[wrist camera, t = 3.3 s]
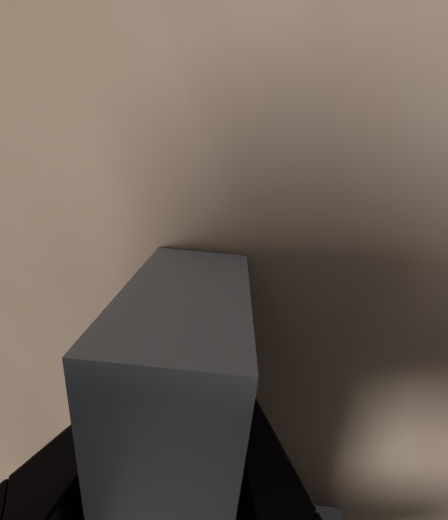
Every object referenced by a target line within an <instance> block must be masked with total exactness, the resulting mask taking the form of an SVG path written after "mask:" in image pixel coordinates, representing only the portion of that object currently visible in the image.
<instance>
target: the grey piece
mask: <svg viewBox="0 0 448 520" xmlns="http://www.w3.org/2000/svg"><path fill="white" fill-rule="evenodd" d="M62 360H63V367H64V374H65V382H66V389H67V396H68V404H69V411H70V418H71V426H72V433H73V441H74V448H75V455H76V463H77V470H78V477H79V485H80V492H81V499H82V507H83V514H84V520H236V514H237V508H238V502H239V495H240V489H241V483H242V477H243V471H244V465H245V459H246V453H247V447H248V441H249V434H250V428H251V422H252V416H253V410H254V404H255V398H256V392H257V386H258V380H259V374H258V364H257V354H256V344H255V334H254V324H253V314H252V304H251V294H250V284H249V274H248V264H247V256H245V255H235V254H225V253H214V252H204V251H194V250H183V249H173V248H163V247H158V249H157V250H156V251H155V252H154V253H153V254H152V255H151V257H150V258H149V259H148V260H147V261H146V262H145V263H144V265H143V266H142V267H141V268H140V269H139V270H138V271H137V273H136V274H135V275H134V276H133V277H132V278H131V279H130V281H129V282H128V283H127V284H126V285H125V286H124V287H123V289H122V290H121V291H120V292H119V293H118V294H117V295H116V297H115V298H114V299H113V300H112V301H111V302H110V303H109V305H108V306H107V307H106V308H105V309H104V310H103V311H102V313H101V314H100V315H99V316H98V317H97V318H96V320H95V321H94V322H93V323H92V324H91V325H90V326H89V328H88V329H87V330H86V331H85V332H84V333H83V334H82V336H81V337H80V338H79V339H78V340H77V341H76V342H75V344H74V345H73V346H72V347H71V348H70V349H69V350H68V352H67V353H66V354H65V355H64V356H63V357H62ZM315 506H316V509H317V511H316V512H318V513H320V515H321V517H322V519H323V520H343V518H342V514H341V511H340V508H339V507H329V506H320V505H315Z"/></svg>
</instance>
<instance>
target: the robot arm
mask: <svg viewBox="0 0 448 520" xmlns="http://www.w3.org/2000/svg"><path fill="white" fill-rule="evenodd" d="M316 511H317V509H316V506H315V505H314V503H313V501H312V499H311V497H310V496H309V494H308V492H307V490H306V488H305V487H304V485H303V483H302V481H301V479H300V477H299V476H298V474H297V472H296V470H295V468H294V467H293V465H292V463H291V461H290V459H289V458H288V456H287V454H286V452H285V450H284V448H283V447H282V445H281V443H280V441H279V439H278V438H277V436H276V434H275V432H274V430H273V429H272V427H271V425H270V423H269V421H268V419H267V418H266V416H265V414H264V412H263V410H262V409H261V407H260V405H259V403H258V401H257V400H256V398H255V404H254V410H253V416H252V422H251V428H250V434H249V441H248V447H247V453H246V459H245V465H244V471H243V477H242V483H241V489H240V495H239V502H238V508H237V514H236V520H323V519H322V517H321V515H320V513H318V512H316ZM0 520H84V514H83V507H82V499H81V492H80V485H79V477H78V470H77V463H76V455H75V448H74V441H73V433H72V426H71V425H70V426H68V427H67V428H66V429H65V430H64V431H62V432H61V433H60V434H59V435H58V436H56V437H55V438H54V439H53V440H52V441H50V442H49V443H48V444H47V445H46V446H44V447H43V448H42V449H41V450H40V451H38V452H37V453H36V454H35V455H34V456H32V457H31V458H30V459H29V460H28V461H26V462H25V463H24V464H23V465H22V466H21V467H19V468H18V469H17V470H16V471H15V472H13V473H12V474H11V475H10V476H9V479H5V480H4V481H2V482H1V483H0Z"/></svg>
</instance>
